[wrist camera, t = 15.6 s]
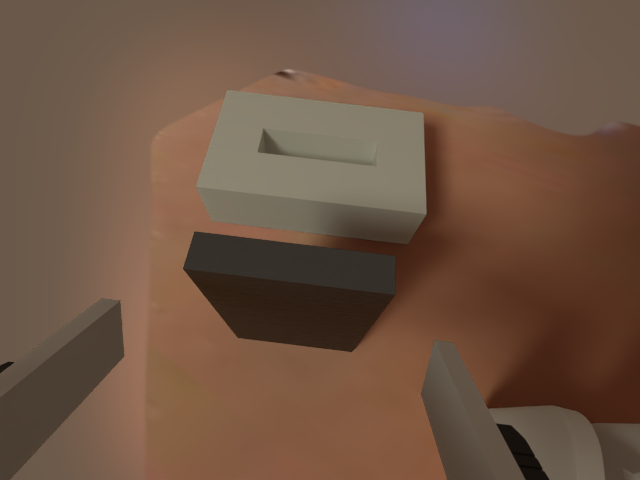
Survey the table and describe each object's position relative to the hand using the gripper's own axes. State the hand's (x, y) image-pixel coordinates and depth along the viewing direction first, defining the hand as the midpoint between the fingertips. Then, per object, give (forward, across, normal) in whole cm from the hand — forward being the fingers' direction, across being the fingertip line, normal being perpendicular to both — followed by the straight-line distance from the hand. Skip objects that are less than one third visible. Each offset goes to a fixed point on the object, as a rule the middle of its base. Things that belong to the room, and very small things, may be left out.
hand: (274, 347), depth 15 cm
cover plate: (+14, 0, -9) cm, 17 cm away
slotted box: (+26, 0, +3) cm, 26 cm away
